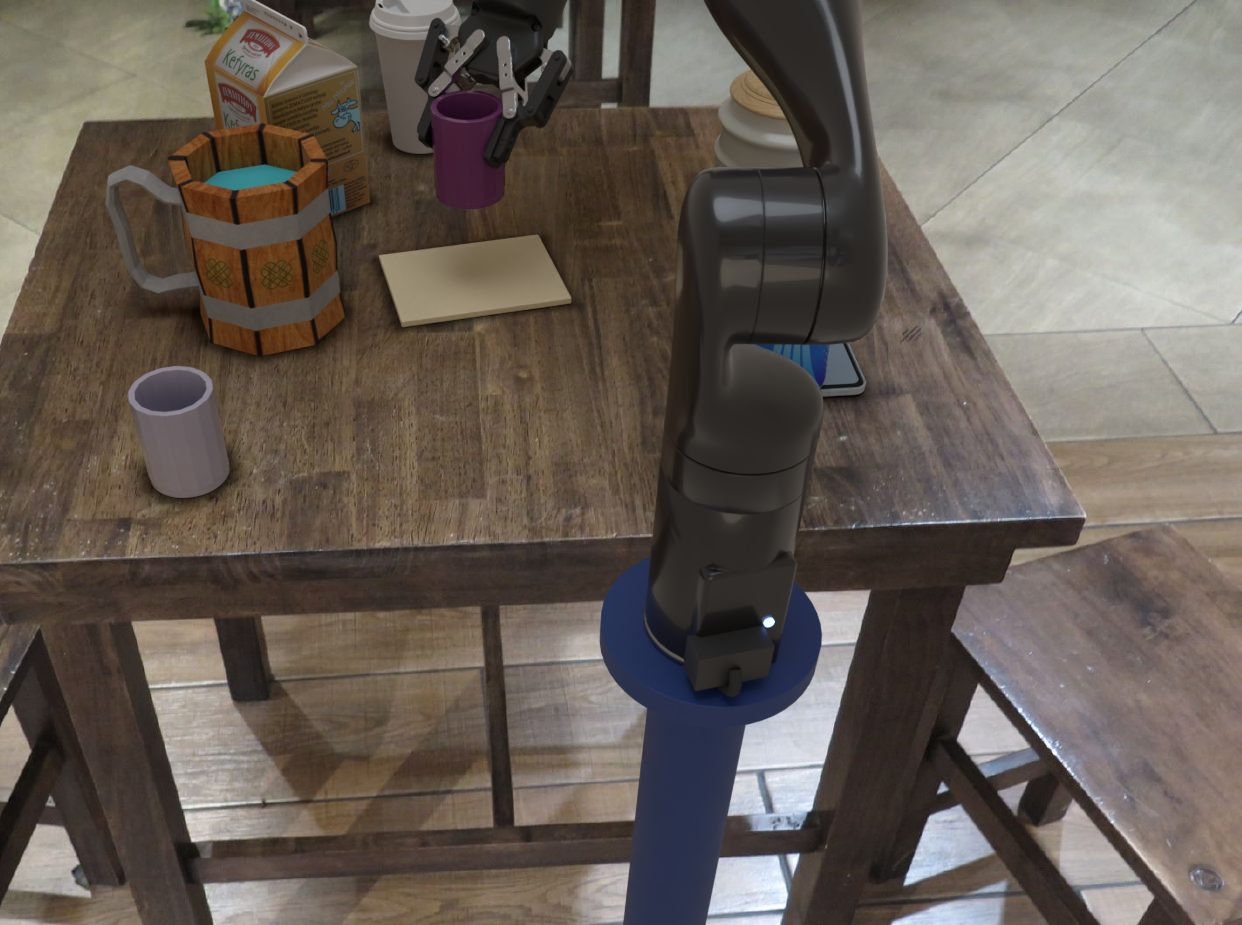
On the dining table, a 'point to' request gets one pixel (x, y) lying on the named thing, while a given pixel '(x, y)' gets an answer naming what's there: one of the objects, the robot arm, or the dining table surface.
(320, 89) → the milk carton
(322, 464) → the dining table surface
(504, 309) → the placemat
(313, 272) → the mug
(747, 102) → the jar
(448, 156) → the plum cup
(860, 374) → the smartphone
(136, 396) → the grey cup
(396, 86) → the coffee cup
